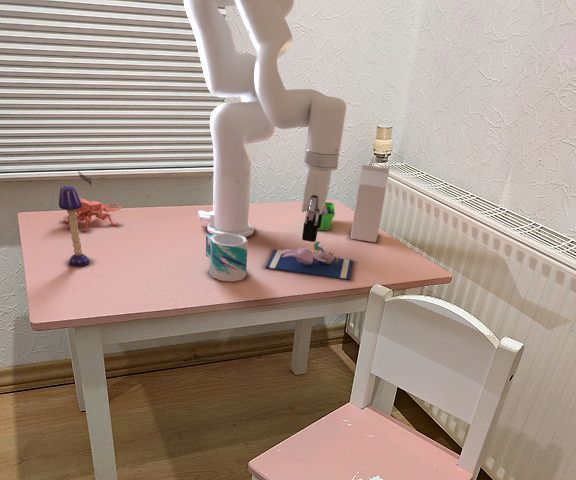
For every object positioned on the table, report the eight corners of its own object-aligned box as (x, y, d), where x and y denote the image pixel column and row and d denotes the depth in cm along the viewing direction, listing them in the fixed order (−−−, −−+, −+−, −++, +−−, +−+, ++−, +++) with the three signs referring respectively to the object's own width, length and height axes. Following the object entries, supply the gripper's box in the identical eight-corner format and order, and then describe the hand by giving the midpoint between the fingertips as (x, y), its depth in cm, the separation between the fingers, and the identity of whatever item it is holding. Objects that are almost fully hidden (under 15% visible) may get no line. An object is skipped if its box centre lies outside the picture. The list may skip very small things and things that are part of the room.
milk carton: (375, 243, 158) (388, 171, 147) (350, 239, 159) (361, 167, 148) (377, 234, 164) (390, 165, 153) (353, 231, 165) (363, 161, 154)
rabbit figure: (327, 262, 146) (274, 257, 139) (333, 239, 143) (279, 233, 136) (338, 271, 141) (284, 267, 134) (345, 248, 138) (290, 242, 131)
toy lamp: (68, 267, 127) (58, 191, 118) (65, 259, 131) (54, 184, 122) (91, 265, 130) (82, 190, 120) (86, 257, 133) (78, 183, 124)
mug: (221, 283, 127) (222, 247, 123) (195, 264, 135) (195, 229, 130) (252, 277, 132) (254, 242, 127) (225, 258, 139) (226, 225, 135)
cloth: (265, 268, 137) (265, 266, 136) (274, 250, 147) (274, 249, 146) (349, 280, 135) (349, 278, 135) (352, 261, 145) (352, 260, 145)
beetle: (74, 233, 144) (67, 182, 137) (57, 218, 152) (51, 169, 145) (130, 226, 152) (127, 177, 145) (112, 212, 160) (108, 165, 153)
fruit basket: (332, 232, 162) (338, 192, 156) (301, 229, 162) (305, 189, 155) (331, 219, 171) (336, 181, 165) (301, 217, 171) (305, 178, 165)
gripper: (310, 148, 134) (301, 219, 144) (299, 166, 120) (290, 243, 130) (341, 152, 134) (330, 224, 144) (334, 171, 120) (323, 249, 130)
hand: (311, 233), depth 137 cm, fingers open, 9 cm apart
